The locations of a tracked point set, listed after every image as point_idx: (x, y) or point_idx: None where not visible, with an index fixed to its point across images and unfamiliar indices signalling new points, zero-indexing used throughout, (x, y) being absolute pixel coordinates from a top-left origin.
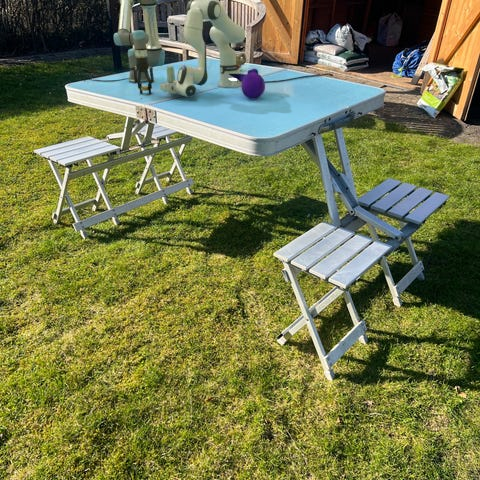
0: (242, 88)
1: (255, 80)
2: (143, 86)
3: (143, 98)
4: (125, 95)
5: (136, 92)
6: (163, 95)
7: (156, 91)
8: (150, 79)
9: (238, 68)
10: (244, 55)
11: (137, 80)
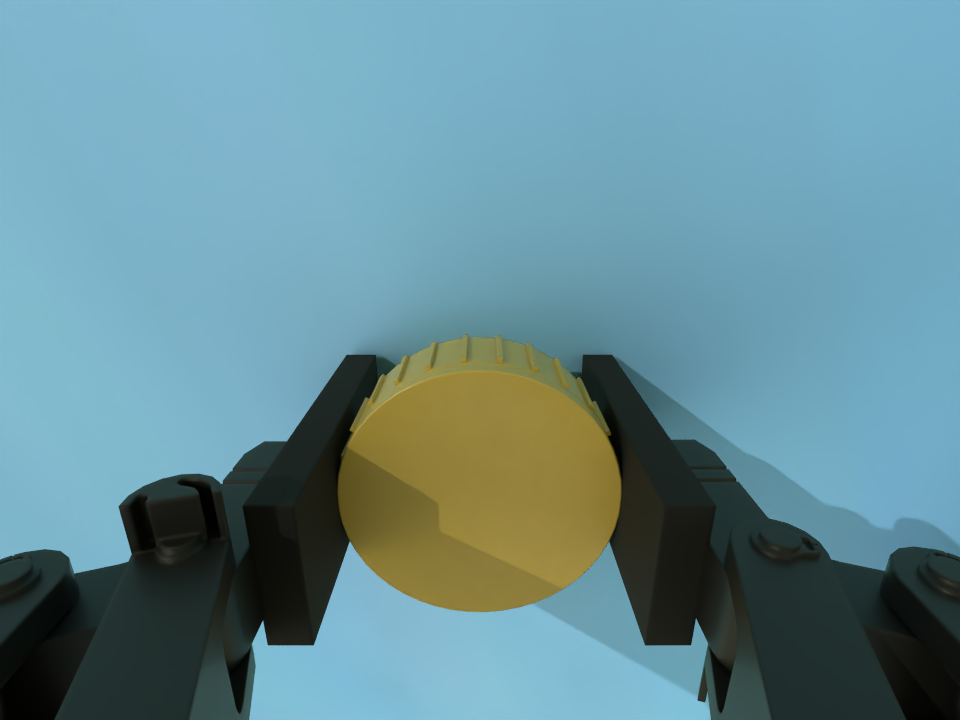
0: None
1: None
2: (392, 432)
3: (567, 717)
4: (83, 558)
5: (145, 252)
6: (941, 489)
7: (692, 50)
8: (876, 692)
9: None
10: None
11: (33, 614)
